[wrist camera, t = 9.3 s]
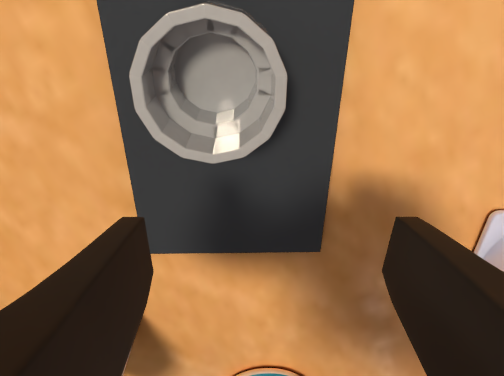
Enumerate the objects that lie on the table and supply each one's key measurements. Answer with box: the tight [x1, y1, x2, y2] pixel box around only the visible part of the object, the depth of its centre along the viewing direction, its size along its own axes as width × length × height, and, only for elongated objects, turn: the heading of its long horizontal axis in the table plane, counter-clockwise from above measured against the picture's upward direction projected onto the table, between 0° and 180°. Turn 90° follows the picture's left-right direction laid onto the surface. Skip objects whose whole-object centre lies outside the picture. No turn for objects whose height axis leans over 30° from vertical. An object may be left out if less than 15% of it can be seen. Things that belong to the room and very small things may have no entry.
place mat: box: [97, 0, 354, 254], centre depth 17 cm, size 11×20×1 cm, turn 0°
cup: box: [129, 0, 287, 164], centre depth 15 cm, size 6×6×4 cm
